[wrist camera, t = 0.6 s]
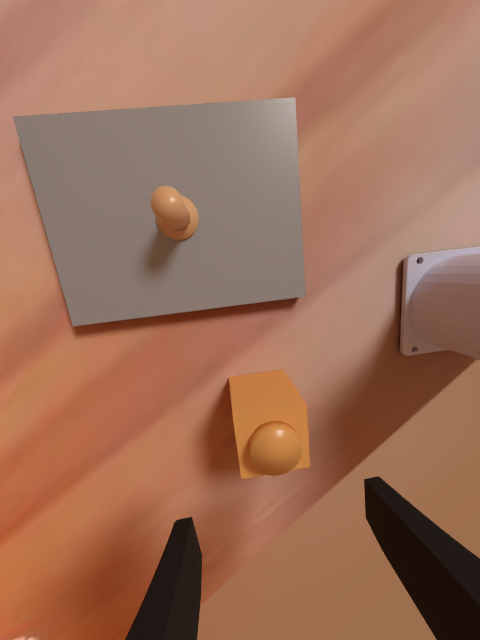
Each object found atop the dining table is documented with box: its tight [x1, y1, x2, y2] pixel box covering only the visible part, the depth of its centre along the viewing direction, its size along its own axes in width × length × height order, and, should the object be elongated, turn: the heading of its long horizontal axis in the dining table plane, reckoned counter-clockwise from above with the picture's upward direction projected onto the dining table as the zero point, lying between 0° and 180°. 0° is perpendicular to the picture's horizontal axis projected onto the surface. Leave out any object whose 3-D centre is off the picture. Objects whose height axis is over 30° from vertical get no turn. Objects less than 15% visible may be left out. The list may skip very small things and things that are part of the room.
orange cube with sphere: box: [229, 369, 310, 479], centre depth 15 cm, size 4×4×6 cm
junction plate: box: [13, 97, 306, 326], centre depth 13 cm, size 16×12×4 cm
